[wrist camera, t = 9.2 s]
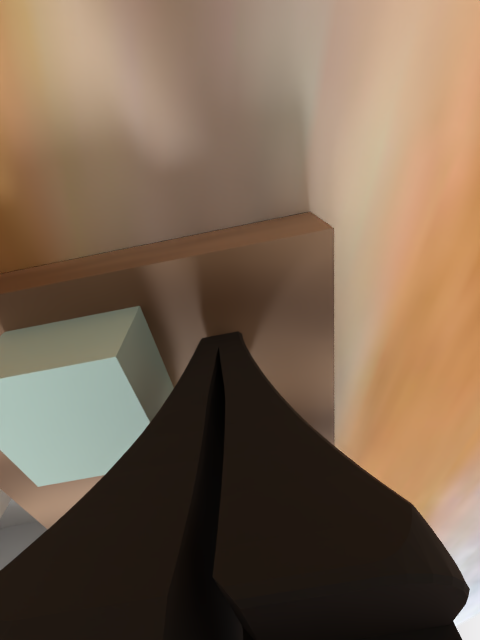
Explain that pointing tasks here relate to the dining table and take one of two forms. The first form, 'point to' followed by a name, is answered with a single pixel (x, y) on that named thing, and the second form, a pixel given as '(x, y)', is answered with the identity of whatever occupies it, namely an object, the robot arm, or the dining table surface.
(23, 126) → the dining table surface
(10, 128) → the dining table surface
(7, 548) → the tray
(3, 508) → the tile
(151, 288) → the board
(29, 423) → the grey-green block
